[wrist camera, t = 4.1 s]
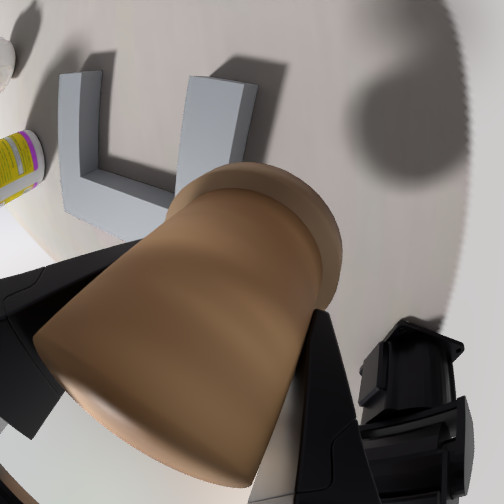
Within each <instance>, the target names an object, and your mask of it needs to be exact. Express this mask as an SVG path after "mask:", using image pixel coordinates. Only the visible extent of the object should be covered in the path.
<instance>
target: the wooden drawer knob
mask: <svg viewBox="0 0 504 504" xmlns="http://www.w3.org/2000/svg"><path fill="white" fill-rule="evenodd" d="M342 252H343V250H342V240H341V236H340V232H339V228H338V226H337V223H336V221H335V218H334V216H333V214H332V213H331V211H330V209H329V208H328V206H327V205H326V203H325V202H324V201H323V200H322V198H321V197H320V196H319V195H318V194H317V193H316V192H315V191H314V190H313V189H312V188H311V187H310V186H309V185H307V184H306V183H305V182H303V181H302V180H301V179H299V178H298V177H296V176H294V175H293V174H291V173H289V172H287V171H285V170H282V169H280V168H277V167H275V166H271V165H267V164H263V163H255V162H236V163H230V164H225V165H222V166H220V167H217V168H214V169H213V170H211V171H209V172H207V173H205V174H204V175H202V176H200V177H198V178H197V179H195V180H193V181H192V182H190V183H189V184H188V185H186V186H185V187H184V188H183V189H182V190H181V191H180V192H179V193H178V194H177V195H176V196H175V198H174V200H173V201H172V203H171V204H170V207H169V209H168V211H167V214H166V218H165V222H164V223H163V224H161V225H160V226H159V227H157V228H156V229H155V230H154V231H152V232H151V233H150V234H148V235H147V236H146V237H145V238H143V239H142V240H141V241H140V242H138V243H137V244H136V245H135V246H133V247H132V248H131V249H130V250H128V251H127V252H126V253H125V254H123V255H122V256H121V257H120V258H119V259H117V260H116V261H115V262H114V263H113V264H111V265H110V266H109V267H108V268H107V269H105V270H104V271H103V272H102V273H101V274H100V275H98V276H97V277H96V278H95V279H94V280H93V281H92V282H90V283H89V284H88V285H87V286H86V287H85V288H84V289H82V290H81V291H80V292H79V293H78V294H77V295H76V296H75V297H74V298H72V299H71V300H70V301H69V302H68V303H67V304H66V305H65V306H64V307H63V308H62V309H61V310H60V311H58V312H57V313H56V314H55V315H54V316H53V317H52V318H51V319H50V320H49V321H48V322H47V323H46V324H45V325H44V326H43V327H42V328H41V329H40V330H39V331H38V332H37V333H36V334H35V335H34V336H33V343H34V346H35V348H36V351H37V353H38V354H39V356H40V358H41V360H42V361H43V363H44V364H45V366H46V367H47V369H48V370H49V371H50V373H51V374H52V375H53V377H54V378H55V379H56V380H57V382H58V383H59V384H60V385H61V386H62V387H63V389H64V390H65V391H66V392H67V393H68V394H69V395H70V396H71V397H72V398H73V399H74V400H75V401H76V402H77V403H78V404H79V405H80V406H81V407H82V408H83V409H84V410H85V411H87V412H88V413H89V414H90V415H91V416H92V417H93V418H95V419H96V420H97V421H98V422H99V423H101V424H102V425H103V426H104V427H106V428H107V429H108V430H110V431H111V432H112V433H114V434H115V435H116V436H118V437H119V438H121V439H122V440H124V441H125V442H127V443H128V444H130V445H131V446H133V447H134V448H136V449H137V450H139V451H141V452H142V453H144V454H146V455H148V456H149V457H151V458H153V459H155V460H157V461H159V462H160V463H162V464H164V465H166V466H169V467H171V468H173V469H175V470H177V471H180V472H182V473H184V474H187V475H190V476H192V477H194V478H197V479H200V480H203V481H206V482H210V483H213V484H218V485H222V486H226V487H233V488H246V487H249V486H251V485H252V482H253V480H254V477H255V475H256V473H257V471H258V469H259V466H260V464H261V461H262V459H263V457H264V454H265V452H266V449H267V447H268V444H269V442H270V439H271V437H272V434H273V431H274V429H275V426H276V424H277V421H278V418H279V416H280V413H281V410H282V407H283V405H284V402H285V399H286V396H287V393H288V391H289V388H290V385H291V382H292V379H293V376H294V373H295V370H296V367H297V364H298V361H299V358H300V355H301V351H302V348H303V345H304V342H305V338H306V335H307V332H308V328H309V325H310V322H311V318H312V315H313V311H314V309H316V308H318V309H321V310H323V311H324V310H325V309H326V308H327V307H328V305H329V304H330V302H331V301H332V299H333V297H334V294H335V292H336V289H337V285H338V281H339V276H340V270H341V264H342Z"/></svg>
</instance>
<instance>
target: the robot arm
mask: <svg viewBox="0 0 504 504" xmlns="http://www.w3.org/2000/svg"><path fill="white" fill-rule="evenodd" d="M142 239H143V238H142ZM142 239H138V240H134V241H131V242H127V243H123V244H120V245H116V246H113V247H109V248H105V249H102V250H98V251H95V252H91V253H88V254H85V255H81V256H78V257H74V258H71V259H68V260H64V261H61V262H58V263H54V264H52V265H48V266H46V267H41V268H39V269H35V270H32V271H29V272H25V273H22V274H18V275H14V276H11V277H7V278H3V279H0V433H1V432H2V431H3V430H4V428H5V427H6V426H7V424H10V425H11V426H12V427H14V428H15V429H16V430H18V431H19V432H21V433H22V434H23V435H25V436H26V437H28V438H29V439H30V440H32V439H33V438H34V436H35V435H36V433H37V432H38V430H39V429H40V427H41V426H42V424H43V423H44V421H45V419H46V418H47V417H48V415H49V414H50V412H51V411H52V409H53V408H54V406H55V405H56V404H57V402H58V401H59V399H60V396H62V395H63V393H64V392H65V390H64V389H63V387H62V386H61V385H60V384H59V383H58V382H57V380H56V379H55V378H54V377H53V375H52V374H51V373H50V371H49V370H48V369H47V367H46V366H45V364H44V363H43V361H42V360H41V358H40V356H39V354H38V353H37V351H36V348H35V346H34V343H33V336H34V335H35V334H36V333H37V332H38V331H39V330H40V329H41V328H42V327H43V326H44V325H45V324H46V323H47V322H48V321H49V320H50V319H51V318H52V317H53V316H54V315H55V314H56V313H57V312H58V311H60V310H61V309H62V308H63V307H64V306H65V305H66V304H67V303H68V302H69V301H70V300H71V299H72V298H74V297H75V296H76V295H77V294H78V293H79V292H80V291H81V290H82V289H84V288H85V287H86V286H87V285H88V284H89V283H90V282H92V281H93V280H94V279H95V278H96V277H97V276H98V275H100V274H101V273H102V272H103V271H104V270H105V269H107V268H108V267H109V266H110V265H111V264H113V263H114V262H115V261H116V260H117V259H119V258H120V257H121V256H122V255H123V254H125V253H126V252H127V251H128V250H130V249H131V248H132V247H133V246H135V245H136V244H137V243H138V242H140V241H141V240H142ZM400 328H403V329H400ZM463 351H464V344H463V343H462V342H459V341H457V340H454V339H451V338H449V337H446V336H443V335H441V334H438V333H435V332H433V331H430V330H427V329H425V328H422V327H419V326H417V325H414V324H411V323H409V322H406V321H400V322H398V323H397V324H396V325H395V326H394V327H393V329H392V330H391V331H390V333H389V334H388V335H387V336H386V338H385V339H384V340H383V341H381V342H379V343H378V345H377V346H376V347H375V348H374V349H373V351H372V352H371V353H370V354H369V355H368V357H367V358H366V359H365V360H364V364H363V365H362V366H361V368H360V372H359V373H360V375H361V376H362V380H361V387H360V393H359V400H358V404H359V406H361V407H363V413H362V419H361V425H358V421H357V420H356V413H355V408H354V404H353V400H352V396H351V392H350V388H349V384H348V380H347V376H346V372H345V368H344V364H343V361H342V357H341V353H340V350H339V346H338V342H337V339H336V335H335V332H334V328H333V325H332V321H331V318H330V315H329V313H328V312H326V311H323V310H321V309H318V308H316V309H314V311H313V315H312V318H311V322H310V325H309V328H308V332H307V335H306V338H305V342H304V345H303V348H302V351H301V355H300V358H299V361H298V364H297V367H296V370H295V373H294V376H293V379H292V382H291V385H290V388H289V391H288V393H287V396H286V399H285V402H284V405H283V407H282V410H281V413H280V416H279V418H278V421H277V424H276V426H275V429H274V431H273V434H272V437H271V439H270V442H269V444H268V447H267V449H266V452H265V454H264V457H263V459H262V461H261V464H260V467H259V471H258V473H257V477H256V480H255V482H254V485H253V488H252V491H251V494H250V497H249V500H248V504H459V497H462V496H466V495H467V492H468V488H469V483H470V477H471V471H472V464H473V458H474V432H473V421H472V417H471V414H470V410H469V407H468V403H467V400H466V397H465V396H462V397H459V398H457V400H456V391H455V380H454V372H453V364H452V363H453V362H454V361H455V360H456V359H457V358H458V357H459V356H460V355H461V354H462V353H463ZM452 437H454V438H452ZM0 504H39V503H38V502H37V501H36V500H35V499H33V497H32V496H30V495H29V494H28V493H27V492H26V491H25V490H24V489H23V488H22V487H21V486H20V485H19V484H18V483H17V482H16V481H15V479H14V478H13V477H12V476H11V475H10V474H9V473H8V472H7V471H6V470H5V468H4V467H3V466H2V465H1V464H0Z"/></svg>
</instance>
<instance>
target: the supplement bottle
mask: <svg viewBox="0 0 504 504" xmlns="http://www.w3.org/2000/svg"><path fill="white" fill-rule="evenodd" d="M44 169H45V162H44V155H43V150H42V147H41V144H40V142H39V140H38V138H37V136H36V135H35V134H34V133H33V132H32V131H30V130H23V131H20V132H17V133H15V134H12V135H10V136H7V137H5V138H3V139H0V207H1V206H3V205H5V204H7V203H8V202H10V201H12V200H14V199H15V198H17V197H19V196H21V195H22V194H24V193H26V192H28V191H30V190H32V189H33V188H35V187H37V186H38V185H39V184H40V183H41V182H42V180H43V176H44Z"/></svg>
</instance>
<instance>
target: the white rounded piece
mask: <svg viewBox="0 0 504 504" xmlns="http://www.w3.org/2000/svg"><path fill="white" fill-rule="evenodd" d="M14 67H15V51H14V48H13V46H12V44H11V42H10V41H8V40H6V39H4V38H3V37H0V93H1V92H2V91H3V90H4V89H5V88H6V86H7V85H8V83H9V81H10V79H11V77H12V74H13V71H14Z"/></svg>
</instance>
